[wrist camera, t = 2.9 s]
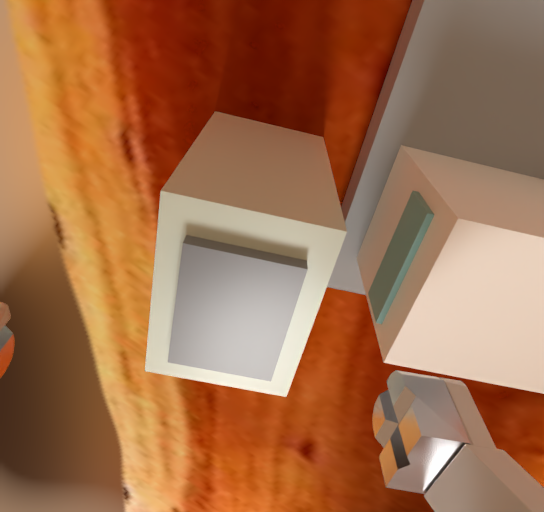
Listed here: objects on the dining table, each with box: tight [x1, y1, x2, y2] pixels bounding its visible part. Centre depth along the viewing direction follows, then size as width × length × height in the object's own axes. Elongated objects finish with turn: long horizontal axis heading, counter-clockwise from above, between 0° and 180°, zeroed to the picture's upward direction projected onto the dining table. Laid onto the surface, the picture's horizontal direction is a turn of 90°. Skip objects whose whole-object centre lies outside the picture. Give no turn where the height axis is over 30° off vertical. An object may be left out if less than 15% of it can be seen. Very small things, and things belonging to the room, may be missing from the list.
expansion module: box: [145, 111, 347, 397], centre depth 14 cm, size 6×4×8 cm
